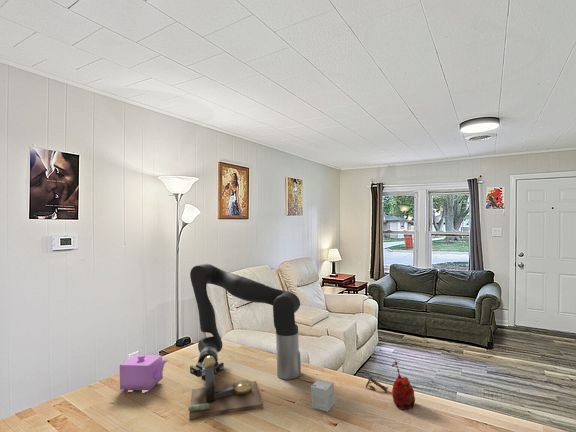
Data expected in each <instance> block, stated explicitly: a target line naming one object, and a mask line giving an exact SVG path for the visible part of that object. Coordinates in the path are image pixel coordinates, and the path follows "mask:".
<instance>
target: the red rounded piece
mask: <svg viewBox="0 0 576 432" xmlns="http://www.w3.org/2000/svg"><path fill="white" fill-rule="evenodd" d="M393 359H394V361H393V363H392V364H391V367H392V368H394V367H395V366H396V369H397V373H398V376H397V378H396V379H395V381H394V382H393V384H392V391H391V392H392V399H393V403H394V405H395V406H396V407H397V408H399V409H400V410H402V411H403V410H411V408H413V407H414V406H415V402H416V398H415V391H414V389H413V386H412V384H411V382H410V380H409V378H408V377H406V376H403V377H402V376H401V375H400V374H401V373H400V369H399V367H398V363H400V360H399V361H397V360H396V358H393Z"/></svg>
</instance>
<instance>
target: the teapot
mask: <svg viewBox="0 0 576 432" xmlns="http://www.w3.org/2000/svg"><path fill="white" fill-rule="evenodd" d="M169 361H170V359H169V358H168V359H163V355H159V354H158V355H154V354H153V355H152V354H151V355H149V354H148V355H147V354H134V355H133V356H131V357H129V359H127V360H124V361H123V362H122V363H121V364H119V389H120V390H122V391H124V390H126V391H127V390H134V391H142V390H149V391H151V389H153V388H154V387H155V386H156V384H158V383H160V382H161V381H162V379H164V378H163V377H164V376H163V374H164V373H163V371H164V367H165V364H166V363H167V362H169Z"/></svg>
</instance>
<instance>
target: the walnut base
mask: <svg viewBox="0 0 576 432" xmlns="http://www.w3.org/2000/svg"><path fill="white" fill-rule="evenodd" d="M251 383H252V391H251V392H250V393H249V394H247V395H242V396H239V395H235V394H232V395H229V396H226V397H222V398H219V399H216V400H215V401H214V402H211V403H207V402H206V387H199V388H193V389H191V395H190V396H191V398H190V403H189V406H188V412H189V413H188V415H189V417H188V419H189V420H196V419H201V418H209V417H215V416H222V415H229V414H235V413H241V412H242V413H243V412H247V411H248V412H249V411H256V410H261V409H264V402H263V400H262V395H261V393H260V390H259V386H258V383H257V380H253V381H251ZM232 384H233V383H230V384H221V385H214V389H215V391H219V390H222V389H226V388H229V387H232Z"/></svg>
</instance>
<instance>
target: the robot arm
mask: <svg viewBox="0 0 576 432" xmlns="http://www.w3.org/2000/svg"><path fill="white" fill-rule="evenodd" d="M189 277H190V282H191V286H192V289H193V292H194V293H193V294H194V297H195V300H196V306H197V310H198V316H199V317H198V318H199V328H200V332H202V333H208V334H211V335H212V336H207V337H203V338H201V339H200V340H199V341H198V343H197V348H198V352H199V356H198V359H197V363H196V364H195V365H189V374H191V375H193V376H195V377H198V378H200V377H201V380H202V381H203V382H205V366H204V363H203V362H204V359H205V358H206V357H207V356H213V357H214V358H215V364H214V376H216V375H218V374H219V373H221V372H222V371H224V370H225V366H224V365H225V364H224V362H219V355H218V354H219V352H221V351H222V349H223V340H222V338H221V336H220V333H219V331H218V328H217V321H216V319H217V318H216V312H215V309H214V306H213V304H212V302H211V300H210V297H209V295H208V288H207V285H214V286H218V287H220V288H222V289H224V290H226V291H227V292H228V294H230V295H231V296H233V297H235V298H237V299H240V300H243V301H246V302H250V303H260V304H267V305H269V306H272V316H273V326H274V329H275V338H276V339H275V340H276V341H275V343H276V345H275V346H276V372H277V374H276V375H277V378H279V379H282V380H295V379H297V378H299V377H302V370H301V369H302V368H301V367H302V366H301V365H302V364H301V363H302V361H301V352H300V349H299V348H300V347H299V346H300V345H299V326H298V324H297V323H296V320H295V319H296V317H295V313H296V312H298V310H299V309H300V307H301V301H300V299H299V297H298V296H297V295H296V294H295V293H294V292H291V291H287V290H282V289H278V288H274V287H271V286H268V285H265V284H264V283H261V282H258V281H256V280H253V279H250V278H247V277H245V276H243V275H242V276H240V275H238V274H234V273H231V272H227V271H225V270H223V269H221V268H219V267H217V266H214V265H212V264H210V263H203V264H195V265H194V266H192V268H191V269H190V272H189Z"/></svg>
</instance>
